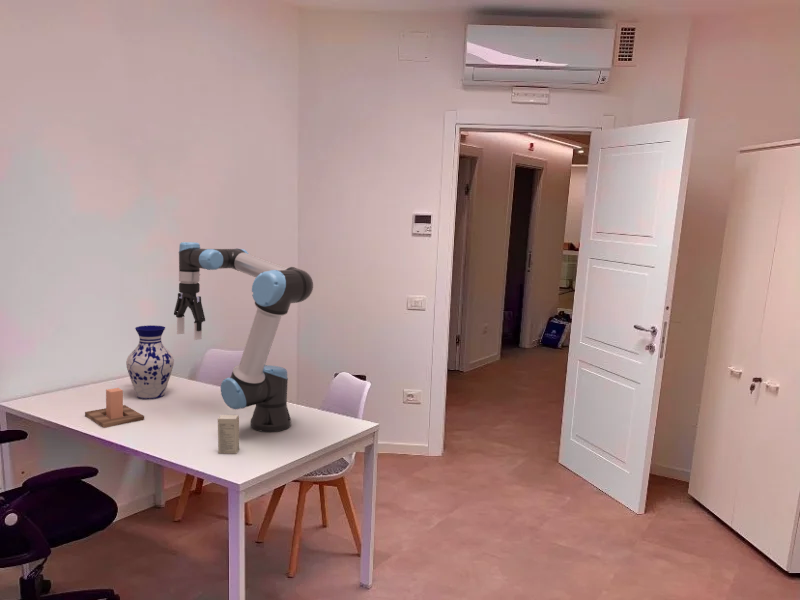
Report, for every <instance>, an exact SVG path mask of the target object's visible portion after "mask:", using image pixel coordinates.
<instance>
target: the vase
mask: <svg viewBox="0 0 800 600" xmlns="http://www.w3.org/2000/svg"><path fill="white" fill-rule="evenodd" d="M134 330H135V331H136V333H137V335H138V337H139V341H138V344H137V346H136V347H135V348H134V349H133V350H132V351H131V353H130V354H129V355H128V356H127V358H126V368H127V374H128V376H129V379H130V381H131V384H132V387H133V390H134V393H135V395H136V398H138V399H140V400H155V399H160V398H162V397H164V396H165V393H166V390H167V387H168V383H169V380H170V378H171V375H172V372H173V368H174V365H175V359H174V356H173V354H172V353H171V352H170V351H169V350H168V349H167V348H166V347H165V346H164V344H163V342H162V335H163V333H164V331H165V330H166V326H163V325H140V326H136V327H135V328H134Z"/></svg>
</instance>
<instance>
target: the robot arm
mask: <svg viewBox="0 0 800 600" xmlns="http://www.w3.org/2000/svg"><path fill="white" fill-rule="evenodd" d="M200 269H204V270H208V271H211V270H212V271H215V270H216V271H217V270H219V269H220V270H221V269H231V270H235V271H238V272H241V273H243V274H246V275H248V276H251V277H253V278H255V279H254V280H253V283H252V285H251V293H252V299H253V300H254V306H255V307H256V311H255V315H254V317H253V321H252V324H251V328H250V330H249V334H248V337H247V340H246V343H245V346H244V349H243V352H242V356H241V358H240V361H239V364H237V365H235V366H234V367H233V368H232V372H231V376H230V377H226V378H225V379H223V380H222V382H221V384H220V395H221V398H222V400H223V402H224V403H225V405H227V406H228V407H229V408H230V409H232V410H241V409H246V408H248V407H251V406H254V405H255V406H254V410H253V412H252V416H251V418H250V427H251V429H253V430H255V431H258V432H266V433H267V432H269V433H271V432H280V431H285V430H287V429H289V428H290V427H291V425H292V420H291V419H292V418H291V416H290V415H291V414H290V411H289V409H288V402H287V401H288V381H289V378H288V370H287V369H286V368H284V367H282V366H277V365H268V364H267V360H268V357H269V354H270V351H271V349H272V346H273V342H274V339H275V336H276V333H277V330H278V328H279V324H280V322H281V319H282V317H283V316H285V315H288V312H289V309H290V306H291V304H296V303H301V302H304V301H305V300H307V299H308V298H310V296H311V294H312V293H313V290H314V282H313V279H312V277H311V275H310V273H308V272H307V271H305V270H303V269H300V268H297V267H294V266H288V267H286V266H283V265H280V264H277V263H275V262H272V261H269V260H266V259H263V258H261V257H258V256H256V255H252V254H251V253H249V252H248V251H247V250H246V249H244V248H201V244H200V243H199V242H194V241H183V242H180V243H179V251H178V282H179V284H178V293H177V299H176V304H175V307H174V312H173V316H175V317H176V334H177V335H183V334H184V335H185V313H186V311H187V309H188V308H189V309H190V312H191V314H192V316H193V320H194V321H193V340H194V341H195V340H196V341H197V340H202V337H203V335H202V331H203V330H202V329H203V328H202V326H203V323H204V322H206V317H205V312H204V307H203V304H202V296H197V294H199V293H200V287H201V285H200V283H199V282H200V279H201V278H200V276H201V274H200V271H201V270H200ZM266 364H267V365H266Z"/></svg>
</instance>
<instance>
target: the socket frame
mask: <svg viewBox="0 0 800 600" xmlns="http://www.w3.org/2000/svg"><path fill="white" fill-rule="evenodd" d="M84 416H85V417H86V418H88V419H89V420H91V421H93V423H96V424H97V425H98V426H100V427H101V428H102V429H105V428H111V427H115V426H120V425H125V424H131V423H135V422H140V421H144V420H145V415H143V414H141V413H139V412H138V411H136V410H135V409H133V408H131V407H129V406H127V405H126V404H123V417H119V418H113V419H109V418H108V417H106V407H105V408H101V409H100V408H99V409H95V410H89V411H85V412H84Z"/></svg>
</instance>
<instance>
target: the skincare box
mask: <svg viewBox="0 0 800 600" xmlns="http://www.w3.org/2000/svg"><path fill="white" fill-rule="evenodd" d="M239 418H240V417H239V414H221V415H219V416H218V418H217V442H218V443H217V447H218V448H217V449H218V450H217V452H218V454H232V455H233V454H238V452H239V451H240V419H239Z"/></svg>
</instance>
